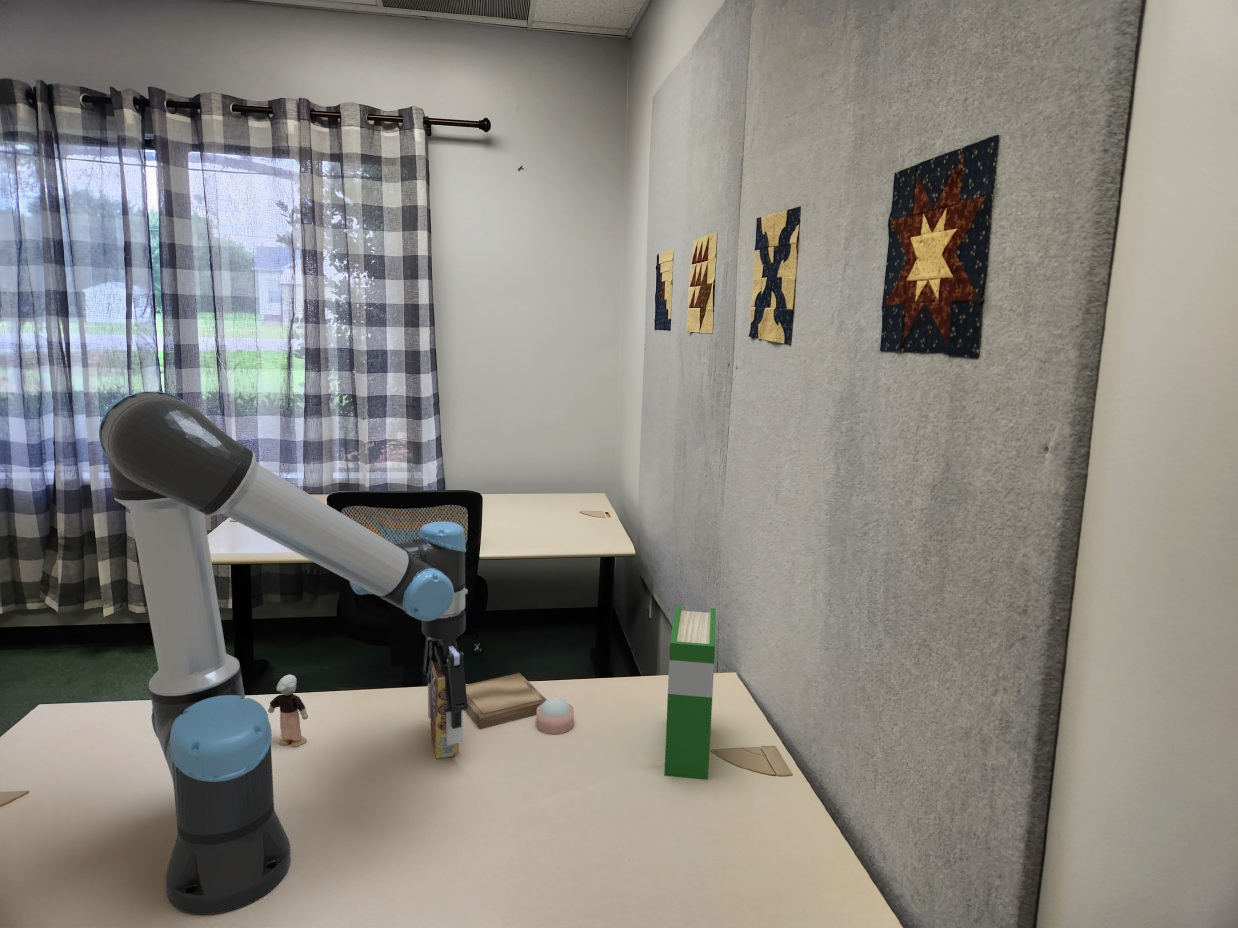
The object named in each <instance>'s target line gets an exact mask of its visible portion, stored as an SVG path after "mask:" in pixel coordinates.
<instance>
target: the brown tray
mask: <svg viewBox="0 0 1238 928" xmlns="http://www.w3.org/2000/svg"><path fill="white" fill-rule="evenodd" d="M466 694H467V705H468V709H467V710H464V711H465V712H466V713H467V715H468V716H469V717H470V718H471V720H472V721H473V722H474V723H475V724H476V726H477V727H478V729H479V730H484V729H487V728H491V727H496V726H499V725H503V724H507V723H512V722H516V721H519V720H522V719H526V718H529V717H530V718H531V717H534V716H537V708H538V706H539V705H541V704H543V703H544V702H545V701H546V700H548V699H547V698H546V697H545V696H544V695H543V694H541V692H540V691H538V689H537V688H535V686H534V685H532V683H530V682H529V681H528V680H527V679H526V678H525V676H523V675H522V673H520V672H517V673H512V674H509V675H504V676H499V677H496V678H491V679H486V680H481V681H477V682H473V683H468V684H466Z"/></svg>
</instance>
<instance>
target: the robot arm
mask: <svg viewBox="0 0 1238 928" xmlns="http://www.w3.org/2000/svg"><path fill="white" fill-rule="evenodd" d="M98 440H99V444H100V446H101V449H102V450H103V453H104V454H105V457H106V463H107V467H108V472H109V473H108V474H109V478H110V482H111V483H110V484H111V489H112V494H113V499H114V500H115V502H117V503H119V504H121V505H122V506H124V507H126V508H127V509H128V510H129V512H130V518H131V522H132V523H131V524H132V528H133V533H134V540H135V544H136V551H137V555H138V562H139V567H140V573H141V579H142V585H143V590H144V596H145V600H146V604H147V605H146V607H147V611H148V618H149V622H150V623H149V624H150V629H151V634H152V639H153V645H154V651H155V657H156V662H157V668H158V670H157V671H156V672H155V673H154V674H153V675H152V677H151V678H150V680H149V682H148V689H149V694H150V701H151V705H152V706H151V707H152V708H151V711H152V712H151V724H152V728H153V731H154V733H155V736H156V737H157V739H158V741H159V745H160V746H161V747H160V748H161V750H162V752H163V755H164V758H165V761H166V763H167V767H168V769H169V772H170V775H171V779H172V784H173V791H174V804H175V807H174V808H175V817H176V819H175V820H176V827H177V828H176V829H177V835H176V839H175V842H174V846H173V849H172V852H171V856H170V859H169V861H168V862H169V863H168V866H167V869H166V873H165V887H166V896H167V899H168V901H169V903H170V904H171V905H172V906H174V908H176V909H178V910H179V911H181V912H184V913H189V914H195V915H211V914H219V913H224V912H228V911H229V912H230V911H233V910H235V909H239V908H241V907H244V906H247V905H249V904H251V903H253V902H254V901H257V900H258V899H260V898H262V897H264V896H265V895H267V894H268V893H269V892H270V891H272V890H273V889H275V887H277V886H278V884H280V883H281V882H282V880H283V879H285V876H286V875H287V873H288V872H289V869H290V866H291V863H292V862H291V854H292V853H291V844H290V840H289V837H288V835H287V833H286V831H285V830H284V827H283V825H282V823H281V821H280V818H279V817H278V815H277V812H276V811H275V801H274V781H273V780H274V779H273V778H274V777H273V761H272V758H273V757H272V739H273V738H272V736H273V735H272V727H271V726H272V725H271V722H270V720H269V718H270V717H269V715H268V714H269V713H267V712H268V711H267V710H266V709H265V707H264V706H263V704H261V703H260V702H258V701H256V699H252V698H250V697H245V689H244V685H243V676H242V672H241V666H240V661H239V659H238V658H236V657H234V656H232V655H230V654H228V653H227V651H226V645H225V639H224V632H223V626H222V625H223V624H222V620H221V619H222V618H221V613H220V607H219V602H218V601H219V600H218V595H217V588H216V581H215V576H214V569H213V564H212V557H211V549H210V542H209V538H208V530H207V524H206V518H205V515H206V516H208V517H212V516H217V515H220V514H222V515H224V516H226V517H228V518H230V519H232V520H234V521H236V522H237V523H239V524H241V525H243V526H245V527H247V528H248V529H251V530H253V531H254V532H256V533H259V534H260V535H262V536H264V537H266V538H268V539H270V540H272V541H273V542H275V543H277V544H279V545H281V546H283V547H285V548H287V549H289V550H290V551H292V552H294V553H296V554H298V555H301V557H304V558H305V559H307V560H309V561H312V562H313V563H315V564H317V565H318V566H321V567H323V568H324V569H327V570H329V571H330V572H332V573H333V574H335V575H338V576H339V577H342V578H344V579H345V580H347V581H349V585H350V588H352V591H353V592H354V593H355V594H357V595H360V596H362V595H376V596H377V597H380V598H381V599H382V600H384V601H387V603H391V604H392V605H393V606H396V607H397V608H399V609H402V610H403V611H404V612H405V614H407V615H408V616H410V617H412V618H415V619H416V620H419V621H420V622H421V632H422V634H423V635H424V636H425V646H424V648H425V649H424V660H423V674H424V676H426V682H427V713H428V714H427V717H428V719H430V720H431V665H432V662H435V661H438V666H439V670H440V671H441V672H442V673H443V675H444V676H445V691H446V697H447V703H448V708H446V709H444V711H445V713H446V744H447V745H451V744H455V743H459V744H460V743H462V742H463V741H464V734H463V733H464V728H463V727H464V725H463V724H464V721H463V720H464V719H463V716H464V714H463V713H464V712H463V711H465V710H467V709H468V705H467V694H466V685H467V684H466V676H465V675H466V674H465V666H464V665H465V654H464V652H463V651H460V649H459V644H458V642H457V638H458V637H459V636H460V635H462V634H463V633H465V630H466V624H467V623H466V621H467V620H466V619H467V617H466V611H465V609H466V595H467V594H468V593H469V592H468V591H469V590H468V588H466V552H467V548H466V537H465V529H464V527H463V526H462V525H460V524H458V523H456V522H453V521H433V522H429V523H425V524H423V525H422V526H421V527H420V530H419V534H418V538H412V539H411V540H405V541H404V540H403V541H398V542H397V541H396V542H390V541H389V540H387V539H386V538H384V537H383V536H380V535H379V534H377V533H376V532H374V531H372V530H371V529H368V527H365V526H363V525H362V524H360V523H359V522H357V521H355V520H354V519H352V518H350V517H348V516H346V515H345V514H343V513H342V512H340V511H338V510H337V509H335V508H334V507H331V506H329V505H328V504H326V503H325V502H323V501H321V500H320V499H318V498H316V497H314V496H313V495H311V494H310V493H308V492H306V491H304V490H303V489H301V488H299V487H297V486H296V485H294V484H292V483H291V482H289V481H287V480H286V479H285V478H283V477H281V476H279V475H278V474H276V473H275V472H272V471H271V470H269V469H267V468H265V467H264V466H262V465H260V464H259V463H257V458H256V453H255V452H254V451H253V450H251V449H249V448H247V447H246V446H244V445H242V444H241V443H240V442H238V441H236V440H235V439H233V438H232V437H231V436H230V435H228V434H227V432H224V431H223V430H222V429H221V428H220V427H219V426H217V425H216V424H215V423H214V422H213V421H211V420H210V419H209V417H207V416H205V415H204V414H203V413H202V412H201V411H200V410H199V409H197V408H196V407H194V406H193V405H192V404H189V403H187V402H186V401H184V400H183V399H181V398H180V397H178V396H177V395H175V394H171V393H169V392H163V391H161V390H159V391H147V390H144V391H141V392H135V393H134V392H133V393H132V394H129V395H126V396H124V397H122V398H121V399H119V400H117V401H116V402H115V403H113V404H112V405H111V406H110V408H109V409H108V410H107V411H106V412H105V413H104V415H103V417H102V420H101V422H100V424H99V428H98ZM444 664H448V665H447V666H444Z"/></svg>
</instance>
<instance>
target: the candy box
mask: <svg viewBox="0 0 1238 928" xmlns="http://www.w3.org/2000/svg"><path fill="white" fill-rule="evenodd" d="M447 665H448V664H444V666H447ZM446 708H448V703H447V697H446V691H445V676H444V675H443V673H442V672H441V671H440V670H439V666H438V661H435V662H432V665H431V718H430V738H431V742H432V745H433V750H434V756H435V759H437V760H438V759H446V758H452V757H456V755H455V754H458V753H459V750H460V749H459V747H460V742H459V743H455V744H451V745H447V744H446V713H445V711H444V709H446Z"/></svg>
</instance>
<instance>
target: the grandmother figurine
mask: <svg viewBox="0 0 1238 928" xmlns="http://www.w3.org/2000/svg"><path fill="white" fill-rule="evenodd" d="M296 689H297V677H296V676H295V675H293V674H287V675H284V676H283V677H282V678H280V680H279V681H278V683H277V686H276V691H277V692H280V693H281V694H279V695H277V696H275V697H274V698H272V700H271V701H270V702H269V708H268V709H267V712H268V714H269V713H270V714H273V713H274V712H275V709H277V708H279V712H280V713H279V714H280V715H279V727H280V734H281V735H280V736H281V740H280V742H279V745H280V746H287V745H289V744H290V746H291V747H293V748H295V747H296V748H297V747H300V746H302V745H305V744H306V743H307V741H308V740H307V738H306V737H305V736H302V730H301V723H300V722H301V721H300V720H301V719H302V720H307V719H308V718H309V714H308V713H307V709H306V706H305V704H304V703H303V701H302V699H301V697H300V696H298V695H296V694H294V693H295V692H296ZM300 716H301V719H300Z"/></svg>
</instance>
